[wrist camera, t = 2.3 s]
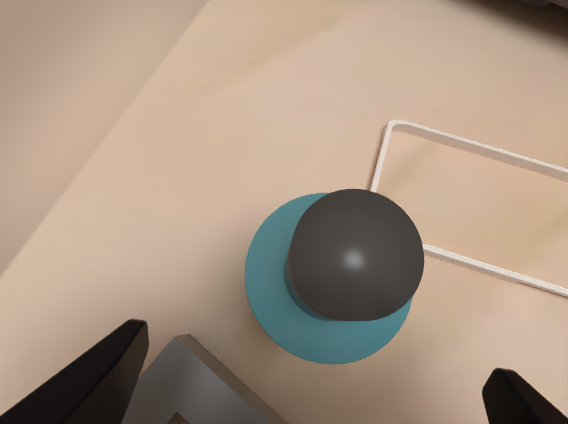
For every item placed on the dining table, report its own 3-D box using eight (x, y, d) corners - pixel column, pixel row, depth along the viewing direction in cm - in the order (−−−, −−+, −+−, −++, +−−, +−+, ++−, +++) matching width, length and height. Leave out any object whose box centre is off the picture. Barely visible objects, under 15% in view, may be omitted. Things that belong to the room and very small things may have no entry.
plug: (304, 360, 18) (390, 448, 6) (238, 303, 19) (182, 268, 6) (355, 291, 19) (521, 236, 7) (291, 239, 20) (333, 101, 7)
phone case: (619, 198, 22) (383, 126, 23) (641, 190, 21) (390, 114, 21) (615, 317, 20) (354, 234, 21) (639, 317, 19) (360, 229, 19)
